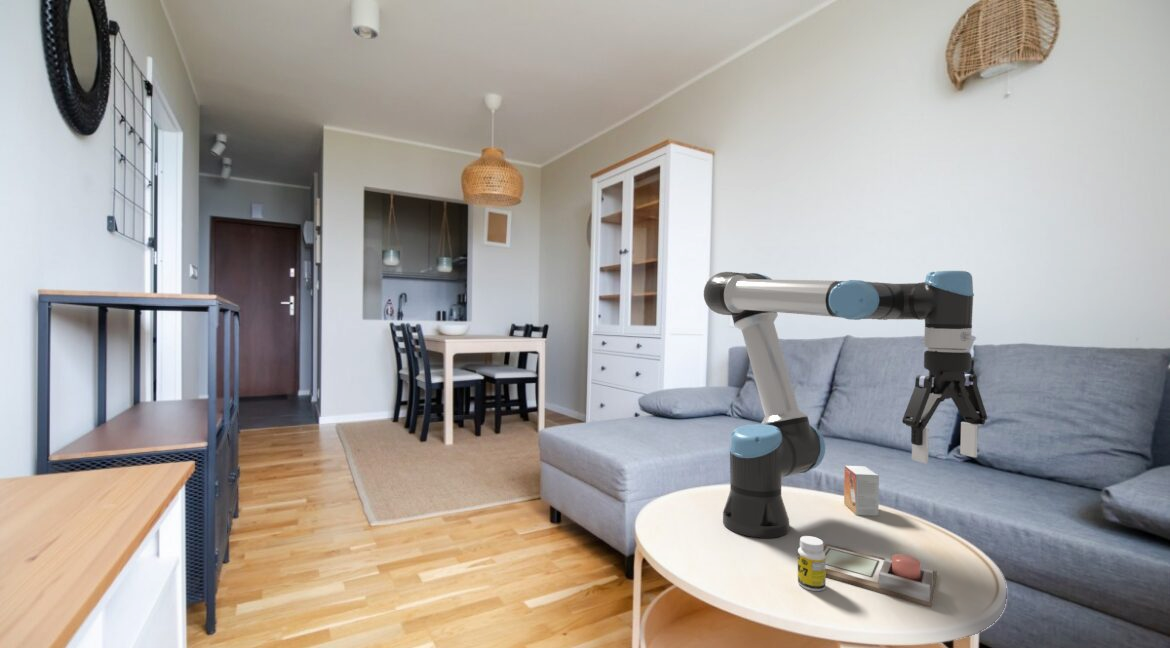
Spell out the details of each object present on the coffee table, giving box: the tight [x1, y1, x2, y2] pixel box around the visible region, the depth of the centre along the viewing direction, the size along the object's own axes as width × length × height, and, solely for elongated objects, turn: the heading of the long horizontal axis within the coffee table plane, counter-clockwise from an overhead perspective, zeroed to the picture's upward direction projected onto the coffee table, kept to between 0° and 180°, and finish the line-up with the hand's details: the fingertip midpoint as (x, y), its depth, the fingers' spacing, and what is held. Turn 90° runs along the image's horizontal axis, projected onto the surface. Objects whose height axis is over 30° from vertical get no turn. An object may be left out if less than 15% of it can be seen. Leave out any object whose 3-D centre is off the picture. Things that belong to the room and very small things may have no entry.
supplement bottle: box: [797, 535, 827, 592], centre depth 94 cm, size 5×5×8 cm
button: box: [891, 553, 922, 582], centre depth 92 cm, size 4×4×3 cm
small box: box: [843, 465, 880, 517], centre depth 132 cm, size 8×6×10 cm
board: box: [823, 542, 938, 608], centre depth 99 cm, size 20×14×3 cm
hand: (944, 458), depth 99 cm, fingers open, 13 cm apart
